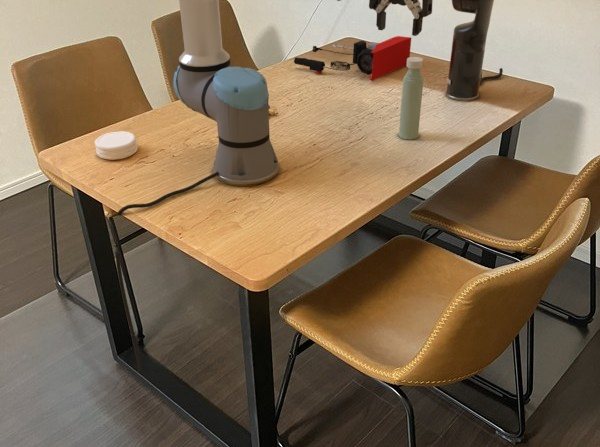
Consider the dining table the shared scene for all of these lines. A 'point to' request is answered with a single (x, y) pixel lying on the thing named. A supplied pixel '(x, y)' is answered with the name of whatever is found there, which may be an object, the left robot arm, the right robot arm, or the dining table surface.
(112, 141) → the white thick disc
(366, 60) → the electric hoist
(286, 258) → the dining table surface
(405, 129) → the bottle
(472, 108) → the dining table surface
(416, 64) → the cap
